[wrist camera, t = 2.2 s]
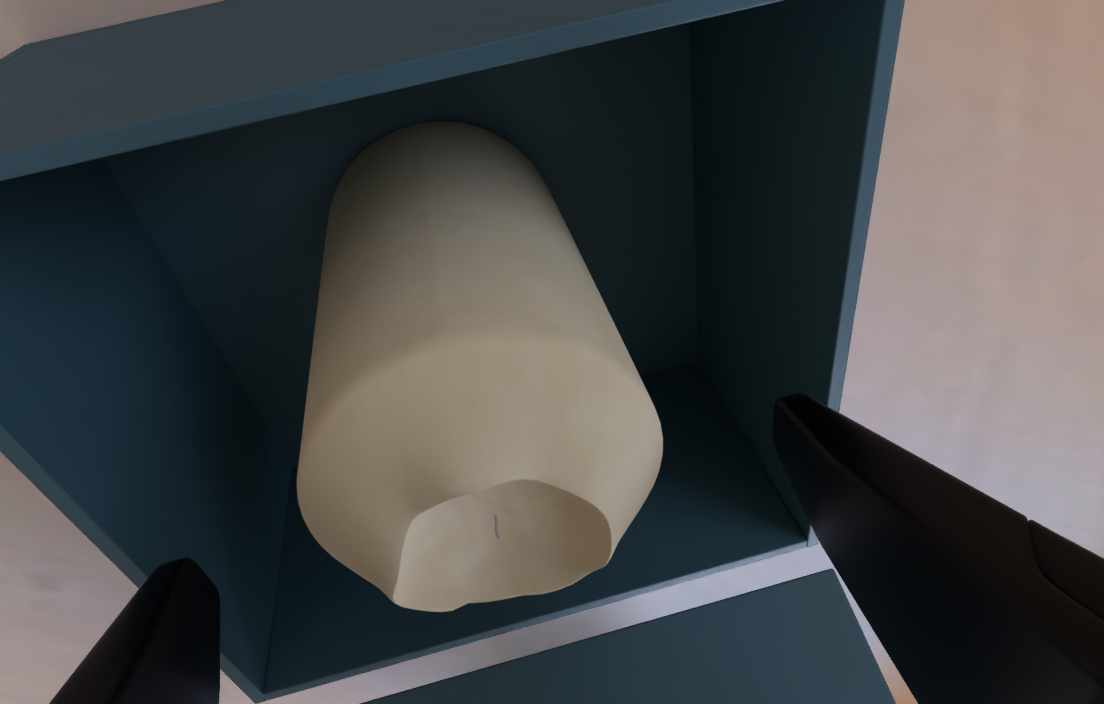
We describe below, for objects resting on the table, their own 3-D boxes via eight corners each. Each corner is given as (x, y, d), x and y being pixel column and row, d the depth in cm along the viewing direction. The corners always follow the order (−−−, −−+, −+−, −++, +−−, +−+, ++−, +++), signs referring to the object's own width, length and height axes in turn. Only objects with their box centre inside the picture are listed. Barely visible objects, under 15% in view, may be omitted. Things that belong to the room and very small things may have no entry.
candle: (370, 340, 18) (367, 711, 11) (291, 147, 15) (202, 490, 7) (566, 292, 19) (701, 618, 11) (533, 93, 15) (697, 364, 8)
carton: (703, 359, 22) (818, 544, 16) (287, 468, 21) (255, 704, 15) (694, -103, 14) (915, -56, 8) (23, 44, 13) (-246, 209, 7)
